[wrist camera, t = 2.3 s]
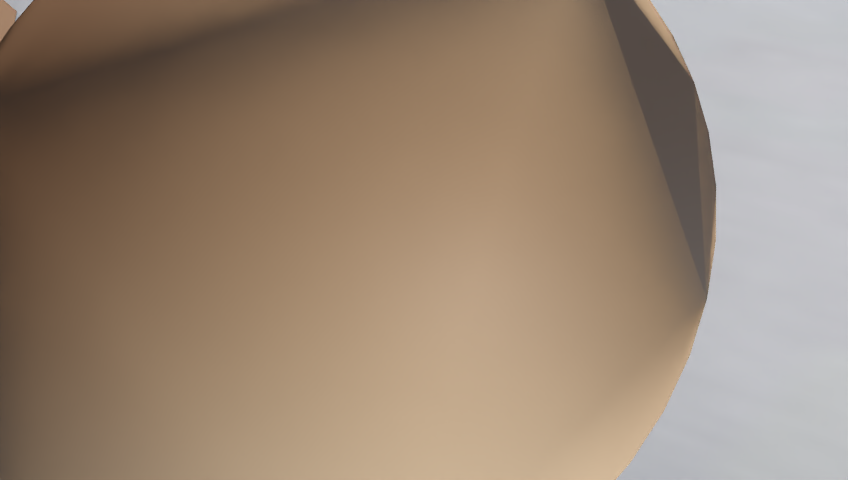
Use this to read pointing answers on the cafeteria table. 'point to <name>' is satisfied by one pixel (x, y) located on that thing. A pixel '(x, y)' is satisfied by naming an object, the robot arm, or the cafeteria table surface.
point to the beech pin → (345, 238)
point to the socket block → (6, 18)
